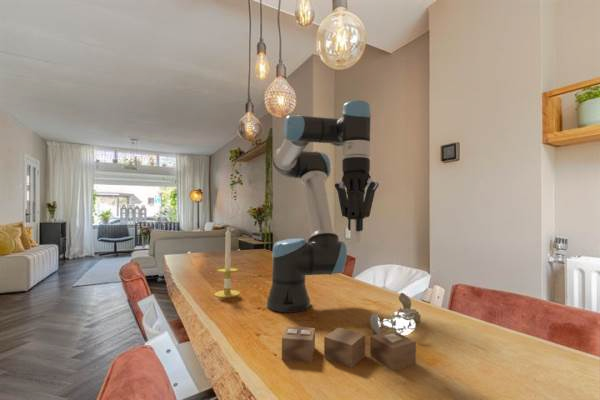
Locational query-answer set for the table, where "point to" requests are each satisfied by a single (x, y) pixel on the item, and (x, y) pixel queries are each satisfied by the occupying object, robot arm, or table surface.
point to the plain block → (344, 347)
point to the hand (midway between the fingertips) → (355, 242)
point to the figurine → (394, 323)
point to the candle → (227, 271)
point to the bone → (407, 305)
